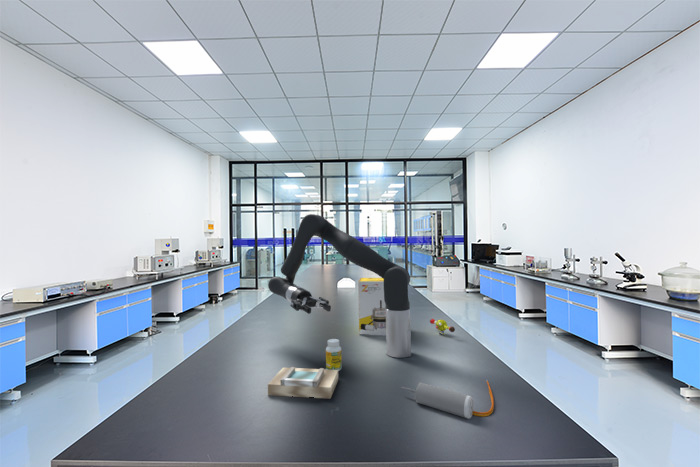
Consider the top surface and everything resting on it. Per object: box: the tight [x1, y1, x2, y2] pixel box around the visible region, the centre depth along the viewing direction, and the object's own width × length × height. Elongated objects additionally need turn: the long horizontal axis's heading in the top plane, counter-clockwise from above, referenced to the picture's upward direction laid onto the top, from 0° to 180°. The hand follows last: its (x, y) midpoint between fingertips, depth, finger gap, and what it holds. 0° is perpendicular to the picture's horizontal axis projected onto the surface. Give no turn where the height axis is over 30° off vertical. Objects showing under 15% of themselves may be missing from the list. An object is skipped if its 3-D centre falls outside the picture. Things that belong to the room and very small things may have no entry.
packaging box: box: [357, 277, 386, 336], centre depth 151 cm, size 16×16×25 cm
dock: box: [267, 366, 339, 400], centre depth 91 cm, size 18×12×4 cm
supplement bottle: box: [325, 338, 343, 372], centre depth 104 cm, size 5×5×10 cm
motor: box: [401, 379, 495, 419], centre depth 86 cm, size 23×22×5 cm
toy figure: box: [429, 318, 456, 336], centre depth 143 cm, size 18×6×7 cm, turn 17°
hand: (320, 309), depth 112 cm, fingers open, 8 cm apart
